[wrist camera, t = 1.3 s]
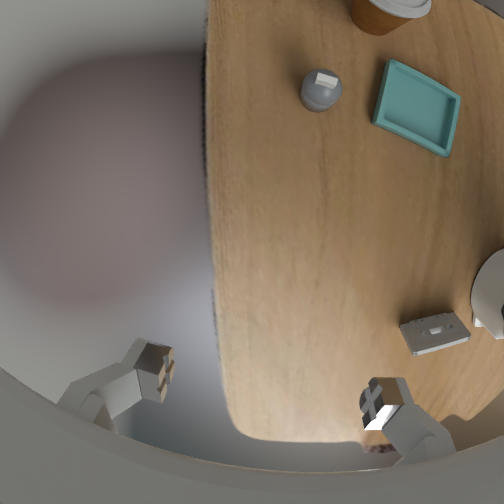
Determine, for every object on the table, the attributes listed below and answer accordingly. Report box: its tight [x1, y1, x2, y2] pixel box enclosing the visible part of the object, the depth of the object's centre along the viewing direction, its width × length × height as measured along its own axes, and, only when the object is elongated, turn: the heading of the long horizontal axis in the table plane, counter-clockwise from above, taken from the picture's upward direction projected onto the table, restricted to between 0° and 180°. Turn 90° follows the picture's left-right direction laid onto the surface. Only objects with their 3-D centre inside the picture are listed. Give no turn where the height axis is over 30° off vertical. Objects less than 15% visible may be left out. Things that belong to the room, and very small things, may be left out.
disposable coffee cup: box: [351, 0, 432, 36], centre depth 20 cm, size 10×10×12 cm
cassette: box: [400, 312, 471, 356], centre depth 38 cm, size 12×2×8 cm, turn 101°
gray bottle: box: [300, 69, 342, 112], centre depth 27 cm, size 4×4×10 cm
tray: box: [371, 58, 461, 158], centre depth 29 cm, size 12×10×2 cm
